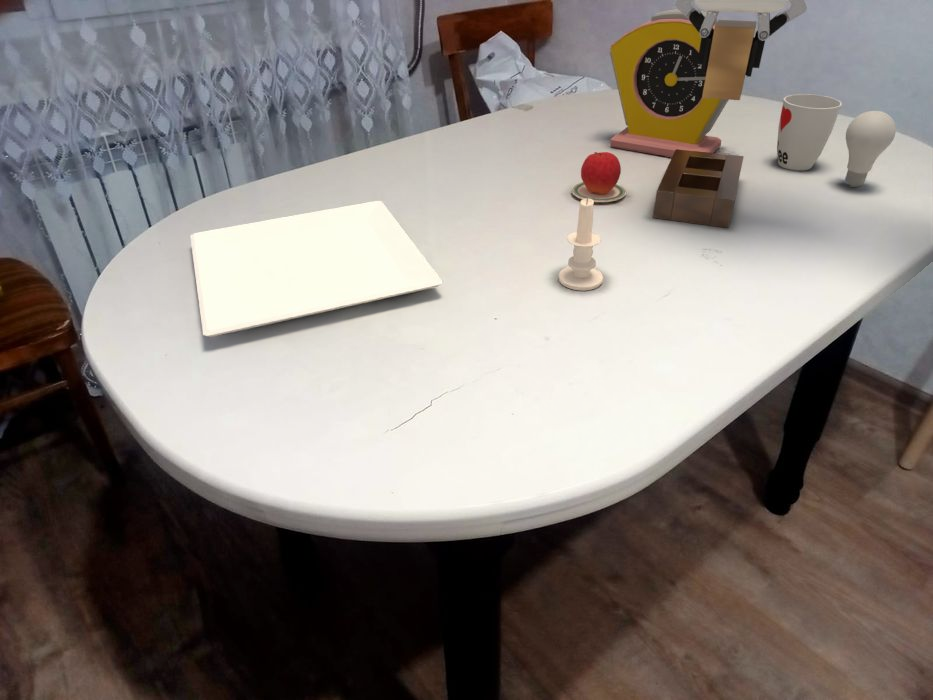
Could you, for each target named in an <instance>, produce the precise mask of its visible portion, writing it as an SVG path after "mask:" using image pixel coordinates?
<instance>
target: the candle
mask: <svg viewBox="0 0 933 700" xmlns="http://www.w3.org/2000/svg"><path fill="white" fill-rule="evenodd" d="M594 205H595V202H594V201H593V200H592V199H590V198H588V197H587V198H586V199H580V202H579V209H578V219H577V228H576V231H573V232H570V233H568V234H567V236H566V241H567V242H568V243H569V244H570V245H572V246H573V250H572V254H573V255H572V256H571V257H569V258H568V259H567V260H568V262H567V265H568V266H567V267H564V268H563V269H561V270H560V271H559V273H558V282H559V283H560V284H561V285H562V286H564V287H565V288H567V289H570V290H574V291H581V292H582V291H591V290H595V289H597V288H599V287H600V286H601V285H602V284H603V282H604V275H603V273H602V272H601V271H600V270H598V269H597V268H595V267H596V266H597V261H596V259H595V258H594V257H593V254H594V251H593V248H594V247H595V246H597V245H599V244H600V243H601V242H602V237H601V236H600V234H598V233H595V232H593V225H594V224H593V223H594V207H595V206H594Z"/></svg>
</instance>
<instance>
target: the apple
mask: <svg viewBox="0 0 933 700" xmlns="http://www.w3.org/2000/svg"><path fill="white" fill-rule="evenodd" d="M621 173H622V167H621V163H620V160H619V157H617V156H616V155H615V154H614V153H612V152H608V151H602V152H597V151H594V152H593V153H590V154H589V155H588V156H586V158H585V159H584V161H583V163H582V165H581V168H580V178H581V180H582V182H578V183H576V184H574V185H573V186H572V187H571V193H572V195H573V196H574V197H576V198H578V199H580V200H583V199H586V198H587V197H588V198H590V199H592V200H593V201H594V203H610V202H615V201H618V200H621V199H623V198H624V197H625V196H626V194H627V190H626V189H625V187H623V186H622V185H620V184H619V183H618V182H619V180H620V177H621Z"/></svg>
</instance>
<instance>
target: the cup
mask: <svg viewBox="0 0 933 700" xmlns="http://www.w3.org/2000/svg"><path fill="white" fill-rule="evenodd" d="M782 101H783V102H782V105H781V112H780V117H779V122H778V131H777V143H776V151H777V153H776V154H777V164H778V166H780V167H781V168H783V169H787V170H791V171H808V170H810V169H812V168H813V166H814V165H815V164H816V162H817V160H818V159H819V157H820V156H821V155H822V153H823V151H824V148H825V146H826V144H827V142H828V141H829V138H830V136H831V134H832V132H833V129H834V127H835V124H836V121H837V118H838V116H839V113H840V111H841V108H842V105H843V102H842V101H841V100H840V99H837V98H834V97H831V96H826V95H821V94H810V93H797V94H790V95H786V96H785V97H783V100H782Z"/></svg>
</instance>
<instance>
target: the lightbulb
mask: <svg viewBox="0 0 933 700" xmlns="http://www.w3.org/2000/svg"><path fill="white" fill-rule="evenodd" d="M896 131H897V128H896V124H895V121H894V119H893V118H892V117H891V116H890V115H889V114H887V113H886V112H884V111H880V110H869V111H865V112H863V113H861V114H858V115H857V116H856V117H854V119H853V120H852V121H850V123H849V125H848V126H847V128H846V131H845V143H846V148H847V150H848V160H847V161H848V162H847V165H846V168H847V172H846V175H845V179H844V182H845V183H846V184H847V185H848V186H849V187H851V188H857V187H858V186H863V185H864V183H865V181H866V179H867V177H868V173H869V172H870V171H871V170H872V168H873V166H874V163H875V162H876V160H877V159H878V158H879V157H880V155H881V154H883V153H884V151H886V149H887V148H888V147H890V145H891V144H892V142H893V141H894V139H895V137H896Z"/></svg>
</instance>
